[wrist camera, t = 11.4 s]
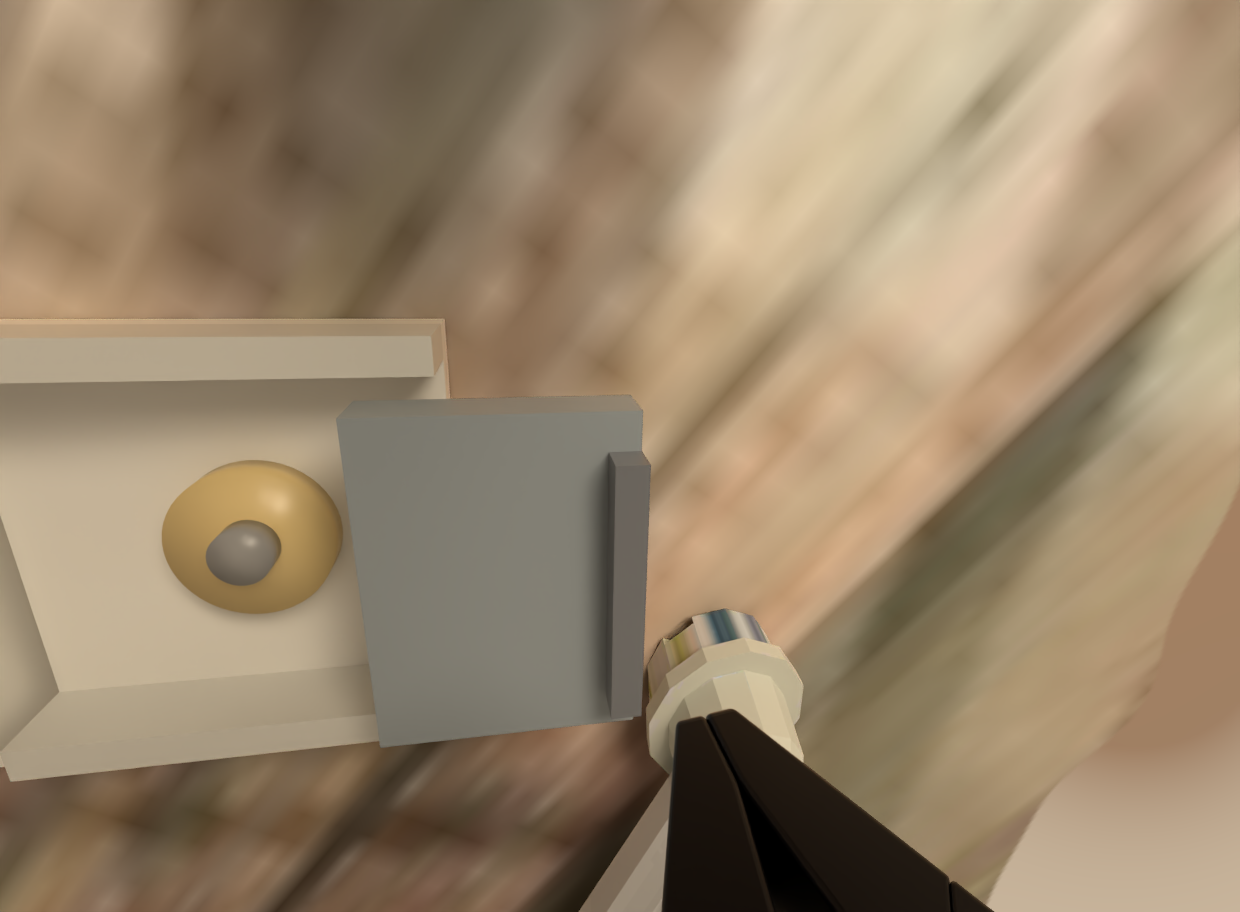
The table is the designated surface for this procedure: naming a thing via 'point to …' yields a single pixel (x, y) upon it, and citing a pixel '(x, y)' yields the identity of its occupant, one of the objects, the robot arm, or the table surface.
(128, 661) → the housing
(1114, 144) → the table surface
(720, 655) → the white blue tube
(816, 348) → the table surface
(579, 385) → the table surface
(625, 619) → the cover
